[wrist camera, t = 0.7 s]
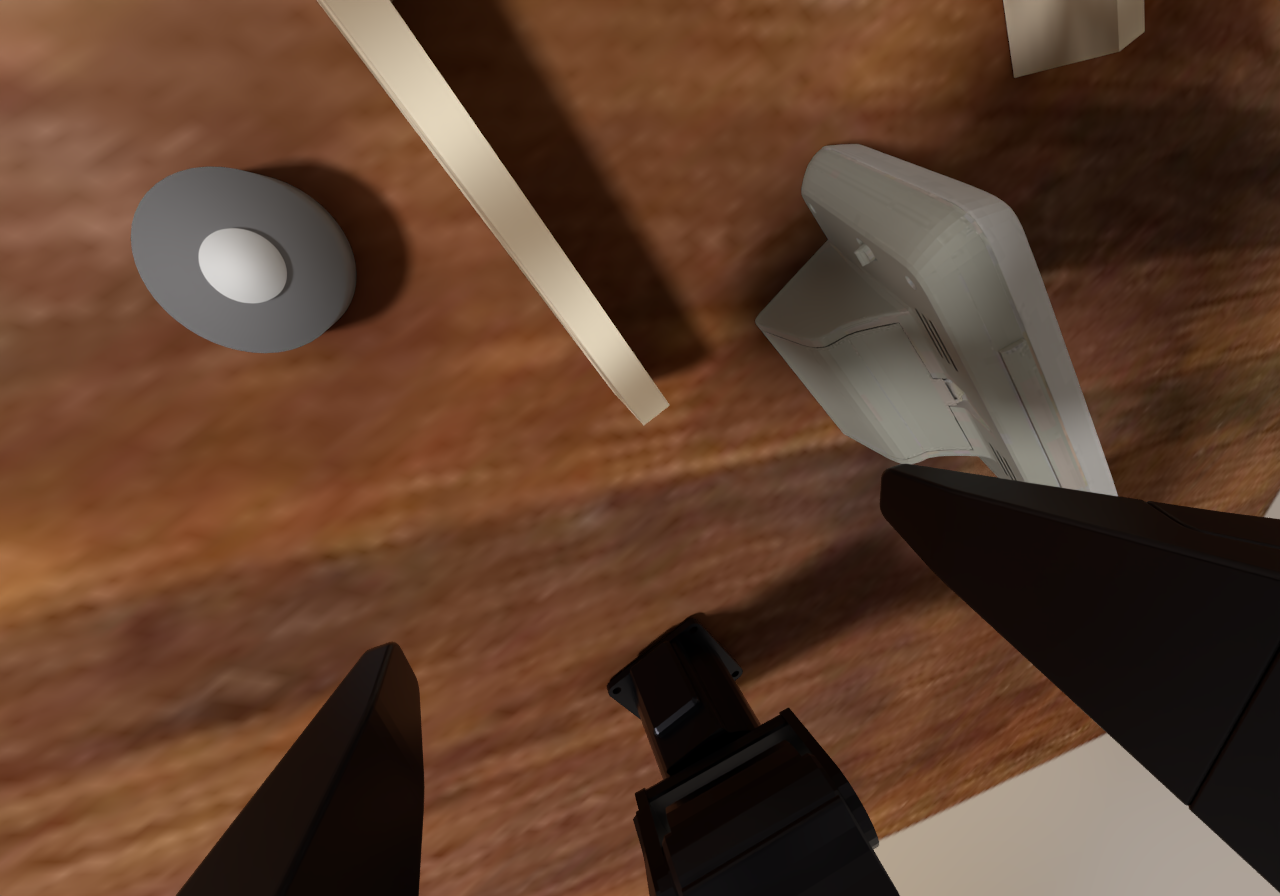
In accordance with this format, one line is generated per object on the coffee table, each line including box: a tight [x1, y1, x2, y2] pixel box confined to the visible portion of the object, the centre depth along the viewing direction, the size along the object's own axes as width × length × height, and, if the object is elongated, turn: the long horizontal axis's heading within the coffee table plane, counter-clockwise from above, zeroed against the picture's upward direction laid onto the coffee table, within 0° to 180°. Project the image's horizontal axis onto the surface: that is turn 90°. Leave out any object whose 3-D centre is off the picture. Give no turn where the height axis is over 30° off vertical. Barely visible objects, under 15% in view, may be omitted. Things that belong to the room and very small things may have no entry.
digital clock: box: [755, 144, 1118, 496], centre depth 20 cm, size 16×9×11 cm, turn 32°
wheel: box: [131, 167, 357, 353], centre depth 15 cm, size 5×5×2 cm
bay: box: [317, 0, 1145, 425], centre depth 16 cm, size 15×23×4 cm, turn 123°
